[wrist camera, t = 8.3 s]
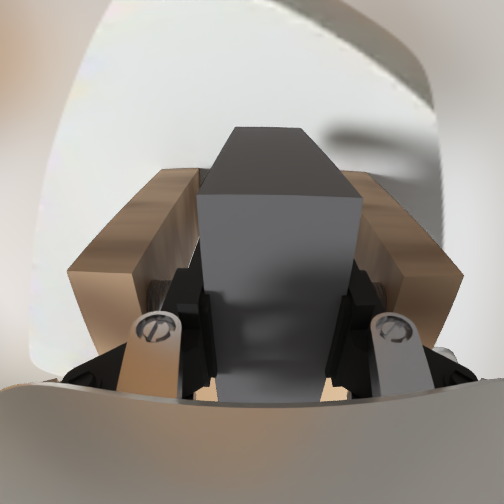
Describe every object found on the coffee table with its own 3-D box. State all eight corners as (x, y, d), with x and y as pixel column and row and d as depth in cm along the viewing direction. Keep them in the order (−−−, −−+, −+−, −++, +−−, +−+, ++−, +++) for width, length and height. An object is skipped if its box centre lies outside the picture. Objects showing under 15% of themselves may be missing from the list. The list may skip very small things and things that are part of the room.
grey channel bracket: (288, 318, 22) (300, 461, 13) (239, 317, 22) (227, 461, 13) (301, 128, 16) (363, 198, 6) (235, 127, 16) (196, 194, 6)
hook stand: (358, 229, 26) (427, 359, 13) (167, 226, 26) (99, 356, 14) (366, 172, 23) (463, 275, 11) (161, 169, 24) (66, 270, 11)
